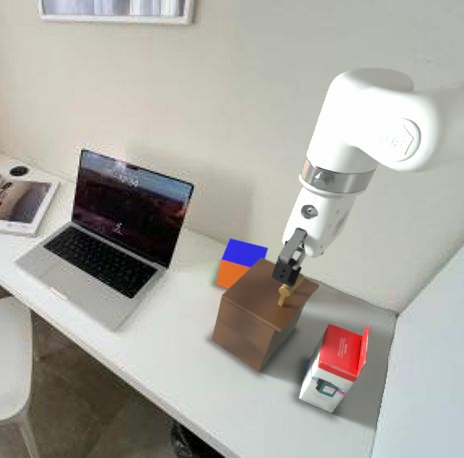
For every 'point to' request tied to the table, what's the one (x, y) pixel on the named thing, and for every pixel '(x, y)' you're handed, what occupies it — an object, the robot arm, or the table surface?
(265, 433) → the table surface
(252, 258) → the cube
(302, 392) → the ink box
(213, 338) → the chest
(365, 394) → the table surface
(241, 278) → the wooden box lid
